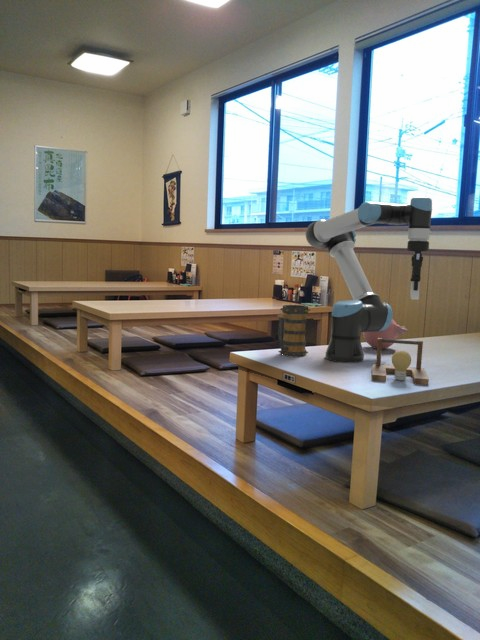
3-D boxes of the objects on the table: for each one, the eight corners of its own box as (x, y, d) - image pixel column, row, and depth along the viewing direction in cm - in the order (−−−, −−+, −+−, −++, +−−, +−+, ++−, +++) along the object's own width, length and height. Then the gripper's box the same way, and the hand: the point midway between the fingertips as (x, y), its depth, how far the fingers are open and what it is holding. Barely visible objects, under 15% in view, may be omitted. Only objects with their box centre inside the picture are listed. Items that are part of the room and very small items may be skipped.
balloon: (399, 354, 230) (402, 318, 228) (356, 348, 242) (358, 314, 240) (412, 349, 242) (414, 316, 240) (370, 344, 254) (372, 311, 252)
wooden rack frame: (372, 380, 182) (374, 345, 180) (372, 369, 199) (374, 337, 198) (428, 385, 178) (431, 349, 176) (423, 373, 195) (426, 340, 193)
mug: (315, 354, 224) (317, 306, 222) (289, 360, 212) (291, 309, 209) (290, 350, 233) (292, 304, 230) (264, 355, 221) (266, 306, 218)
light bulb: (387, 379, 184) (389, 350, 182) (394, 376, 189) (396, 348, 187) (405, 383, 180) (407, 353, 178) (412, 379, 185) (414, 351, 183)
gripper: (431, 240, 186) (426, 301, 189) (427, 241, 209) (423, 295, 212) (408, 239, 188) (403, 300, 191) (407, 240, 212) (403, 294, 214)
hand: (414, 298), depth 201 cm, fingers open, 13 cm apart
